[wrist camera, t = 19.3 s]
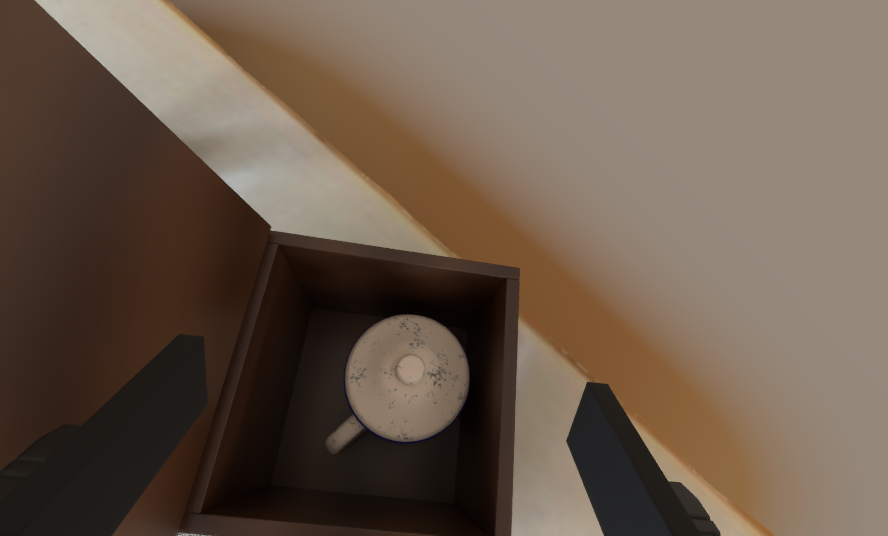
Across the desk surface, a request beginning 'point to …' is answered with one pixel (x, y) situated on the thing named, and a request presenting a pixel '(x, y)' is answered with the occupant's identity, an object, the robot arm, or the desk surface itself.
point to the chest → (325, 405)
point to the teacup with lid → (403, 382)
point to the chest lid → (106, 251)
